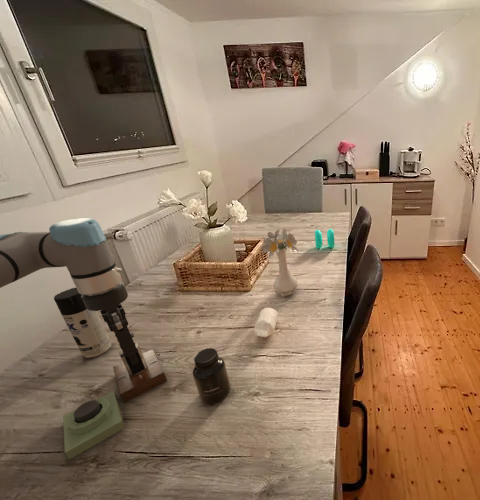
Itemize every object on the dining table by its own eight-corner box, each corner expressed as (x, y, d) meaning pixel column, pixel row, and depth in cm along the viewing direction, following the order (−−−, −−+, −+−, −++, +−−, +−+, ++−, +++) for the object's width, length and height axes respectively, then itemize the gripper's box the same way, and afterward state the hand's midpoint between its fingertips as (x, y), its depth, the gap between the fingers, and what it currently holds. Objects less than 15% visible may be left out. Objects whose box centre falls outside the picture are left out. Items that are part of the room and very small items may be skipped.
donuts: (316, 244, 156) (314, 227, 152) (333, 243, 157) (333, 226, 153) (316, 251, 147) (314, 233, 143) (334, 250, 148) (334, 232, 144)
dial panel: (116, 375, 74) (112, 366, 73) (155, 356, 80) (152, 348, 79) (124, 403, 67) (120, 394, 65) (167, 380, 72) (163, 371, 71)
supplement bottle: (211, 410, 64) (199, 371, 59) (194, 397, 68) (181, 359, 63) (237, 388, 70) (227, 351, 65) (220, 377, 73) (209, 341, 68)
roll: (252, 346, 83) (249, 331, 81) (261, 321, 94) (258, 307, 92) (273, 345, 83) (270, 330, 81) (279, 320, 94) (276, 306, 92)
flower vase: (300, 278, 121) (294, 222, 111) (304, 301, 104) (297, 238, 95) (269, 282, 118) (260, 226, 108) (268, 306, 102) (257, 243, 92)
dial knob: (126, 369, 72) (116, 347, 69) (145, 361, 75) (136, 339, 72) (130, 378, 70) (119, 355, 67) (148, 368, 72) (139, 346, 69)
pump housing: (67, 422, 62) (59, 410, 61) (117, 397, 68) (111, 385, 67) (69, 459, 55) (60, 447, 54) (125, 427, 61) (118, 415, 59)
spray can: (78, 355, 82) (46, 297, 74) (104, 340, 87) (77, 284, 80) (91, 361, 79) (60, 301, 71) (117, 345, 85) (91, 288, 77)
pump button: (76, 414, 60) (72, 408, 60) (100, 402, 63) (97, 396, 62) (77, 426, 58) (74, 421, 57) (102, 413, 60) (99, 408, 60)
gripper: (130, 294, 60) (163, 375, 69) (115, 270, 70) (145, 343, 80) (84, 310, 55) (126, 395, 64) (75, 281, 65) (112, 357, 75)
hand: (136, 366), depth 72 cm, fingers closed on dial knob, 4 cm apart
